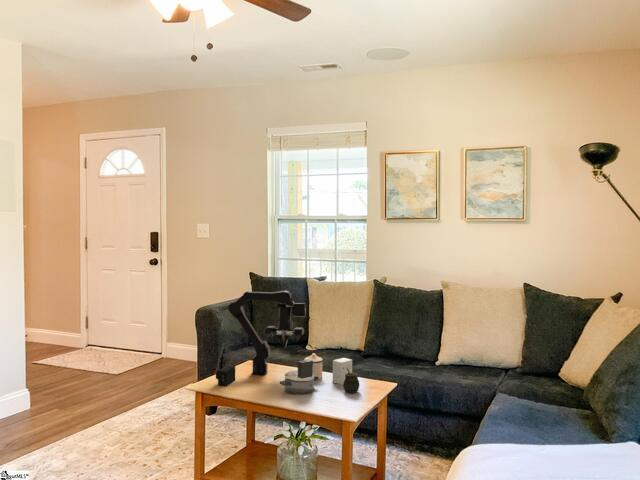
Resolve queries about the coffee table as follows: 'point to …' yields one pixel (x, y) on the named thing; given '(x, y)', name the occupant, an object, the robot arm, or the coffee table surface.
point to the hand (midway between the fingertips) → (284, 347)
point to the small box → (341, 369)
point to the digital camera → (226, 375)
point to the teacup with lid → (316, 365)
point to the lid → (301, 372)
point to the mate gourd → (351, 382)
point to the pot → (299, 386)
